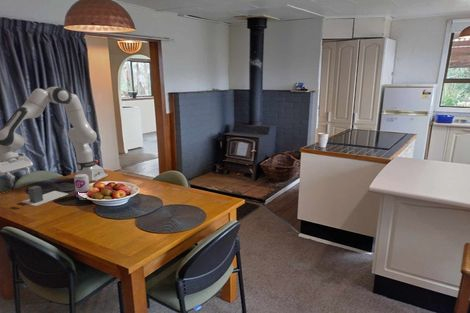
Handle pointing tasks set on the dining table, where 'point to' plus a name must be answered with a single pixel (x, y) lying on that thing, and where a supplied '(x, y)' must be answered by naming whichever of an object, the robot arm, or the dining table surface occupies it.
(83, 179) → the supplement can
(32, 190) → the dark grey block
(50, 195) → the post board
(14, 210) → the dining table surface
